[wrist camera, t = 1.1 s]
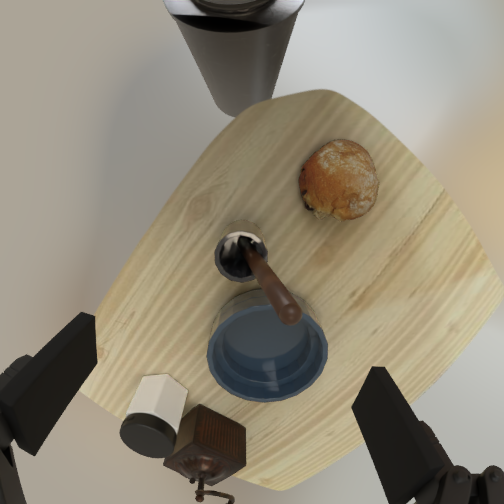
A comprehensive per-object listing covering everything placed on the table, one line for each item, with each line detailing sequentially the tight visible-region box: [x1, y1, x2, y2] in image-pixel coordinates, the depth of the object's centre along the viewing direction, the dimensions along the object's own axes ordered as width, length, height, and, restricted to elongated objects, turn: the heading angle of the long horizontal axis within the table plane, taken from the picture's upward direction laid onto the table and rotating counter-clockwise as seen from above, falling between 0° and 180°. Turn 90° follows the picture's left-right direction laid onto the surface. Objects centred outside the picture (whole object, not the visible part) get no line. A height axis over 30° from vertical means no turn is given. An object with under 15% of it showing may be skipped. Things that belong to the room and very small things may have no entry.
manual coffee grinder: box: [163, 404, 246, 504], centre depth 39 cm, size 16×11×18 cm
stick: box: [237, 237, 302, 326], centre depth 28 cm, size 2×2×20 cm
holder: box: [215, 220, 268, 283], centre depth 34 cm, size 5×6×8 cm
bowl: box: [207, 289, 328, 402], centre depth 39 cm, size 15×15×6 cm
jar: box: [120, 374, 188, 458], centre depth 39 cm, size 9×8×12 cm
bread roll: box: [299, 140, 379, 222], centre depth 34 cm, size 10×10×8 cm
